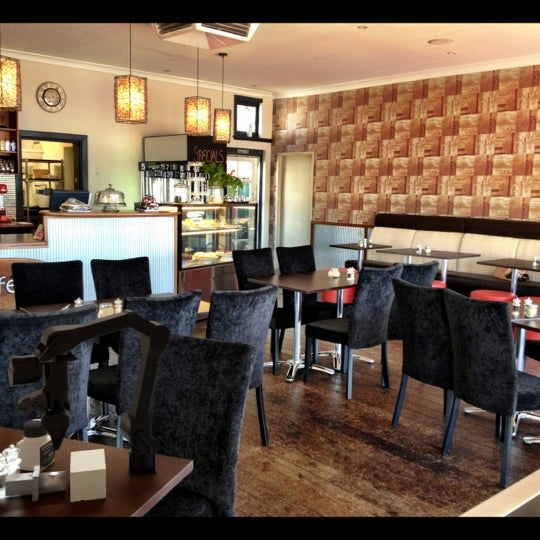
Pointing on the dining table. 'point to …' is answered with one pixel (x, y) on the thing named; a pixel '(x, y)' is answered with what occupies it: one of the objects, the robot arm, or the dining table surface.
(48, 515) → the dining table surface
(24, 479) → the grey flanged bar
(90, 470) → the block
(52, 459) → the medicine bottle
